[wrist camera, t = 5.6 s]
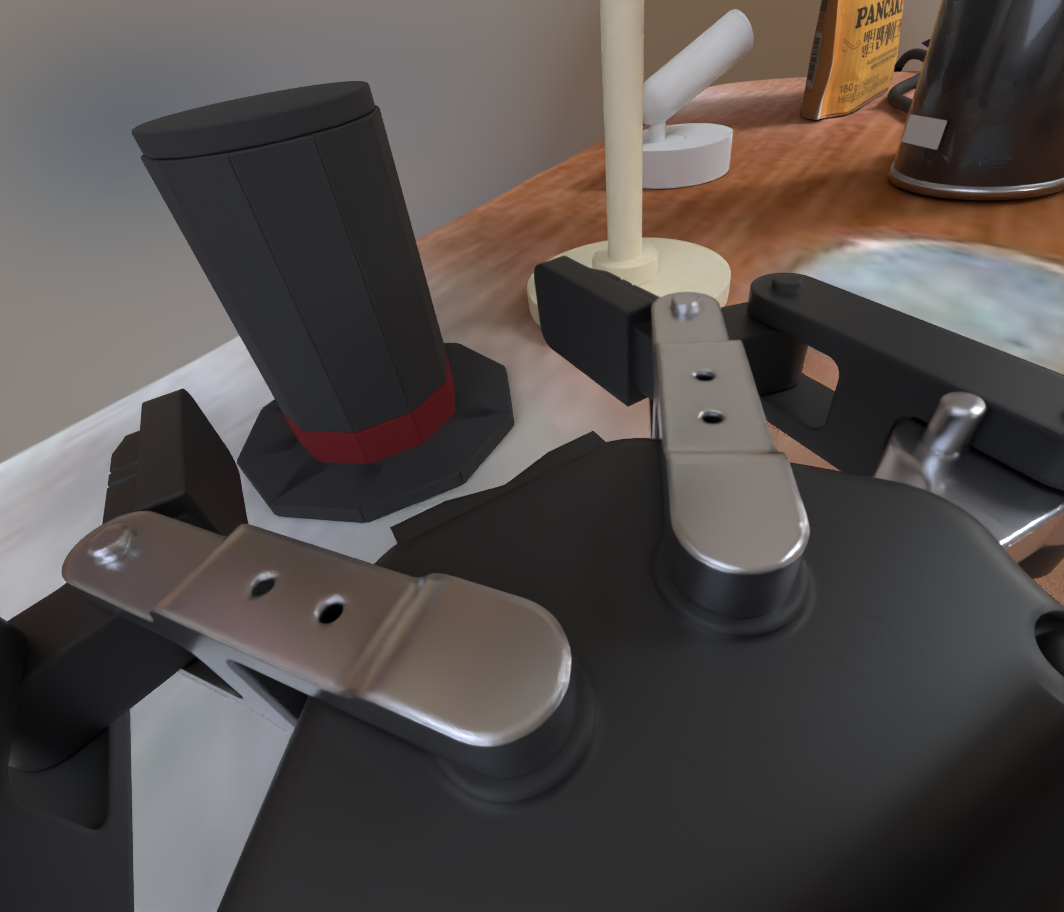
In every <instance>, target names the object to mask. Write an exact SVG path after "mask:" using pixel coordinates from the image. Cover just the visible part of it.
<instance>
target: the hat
mask: <svg viewBox="0 0 1064 912" xmlns="http://www.w3.org/2000/svg"><path fill="white" fill-rule="evenodd" d="M132 135H133V136H134V138H135V140H136V142H137V144H138V145H139V147H140V149H141V151H142V152H143V154H144V155H142V156H141V159H142V161H143V163H144V165H145V167H146V168H147V170H148V172H149V174H150V176H151V177H152V179H153V181H154V183H155V185H156V186H157V188H158V190H159V192H160V194H161V195H162V197H163V199H164V201H165V203H166V204H167V206H168V208H169V210H170V212H171V213H172V215H173V217H174V219H175V220H176V222H177V224H178V226H179V228H180V229H181V231H182V233H183V235H184V236H185V238H186V240H187V242H188V244H189V245H190V247H191V249H192V251H193V253H194V255H195V256H196V258H197V260H198V262H199V264H200V265H201V267H202V269H203V271H204V272H205V274H206V276H207V278H208V280H209V281H210V283H211V285H212V287H213V289H214V290H215V292H216V294H217V296H218V298H219V299H220V301H221V303H222V305H223V306H224V308H225V310H226V312H227V314H228V315H229V317H230V319H231V321H232V323H233V324H234V326H235V328H236V330H237V332H238V333H239V335H240V337H241V339H242V341H243V342H244V344H245V346H246V348H247V350H248V351H249V353H250V355H251V357H252V359H253V360H254V362H255V364H256V366H257V367H258V369H259V371H260V373H261V375H262V376H263V378H264V380H265V382H266V384H267V385H268V387H269V389H270V391H271V393H272V394H273V396H274V398H275V400H273V401H272V402H270V403H269V404H267V405H266V406H265V407H263V409H262V410H261V411H260V414H259V416H258V418H257V420H256V422H255V424H254V426H253V428H252V430H251V432H250V434H249V436H248V439H247V441H246V443H245V445H244V447H243V449H242V451H241V453H240V455H239V457H238V459H237V464H238V465H239V467H240V468H241V470H242V471H243V473H244V474H245V475H246V477H247V478H248V479H249V481H250V482H251V483H252V485H253V486H254V487H255V489H256V490H257V491H258V493H259V494H260V495H261V497H262V498H263V499H264V501H265V502H266V503H267V505H268V506H269V507H270V509H271V510H272V511H273V513H274V514H275V515H278V516H283V517H296V518H309V519H322V520H335V521H349V522H362V523H364V522H366V521H367V522H369V521H372V520H374V519H377V518H379V517H382V516H384V515H387V514H389V513H392V512H394V511H397V510H399V509H402V508H404V507H407V506H409V505H412V504H414V503H417V502H419V501H422V500H424V499H427V498H429V497H432V496H434V495H437V494H439V493H442V492H444V491H447V490H449V489H452V488H454V487H456V486H459V485H461V484H462V483H465V482H466V480H467V479H468V478H469V477H470V476H471V475H472V474H473V472H474V471H475V470H476V469H477V468H478V467H479V465H480V464H481V463H482V462H483V461H484V460H485V458H486V457H487V456H488V455H489V454H490V453H491V452H492V450H493V449H494V448H495V447H496V446H497V445H498V443H499V442H500V441H501V440H502V439H503V438H504V436H505V435H506V434H507V433H508V432H509V431H510V430H511V428H512V427H513V426H514V418H513V411H512V404H511V397H510V390H509V383H508V376H507V371H506V368H505V367H504V366H503V365H501V364H499V363H497V362H495V361H493V360H491V359H489V358H487V357H485V356H483V355H481V354H479V353H477V352H475V351H473V350H471V349H469V348H467V347H465V346H463V345H461V344H458V343H443V339H442V336H441V332H440V328H439V325H438V321H437V317H436V314H435V310H434V306H433V303H432V299H431V295H430V292H429V288H428V284H427V281H426V277H425V273H424V270H423V266H422V262H421V259H420V255H419V251H418V248H417V244H416V240H415V237H414V233H413V230H412V226H411V222H410V218H409V215H408V211H407V207H406V204H405V200H404V197H403V193H402V189H401V185H400V182H399V178H398V175H397V171H396V167H395V163H394V160H393V156H392V152H391V149H390V145H389V141H388V138H387V134H386V130H385V127H384V123H383V119H382V116H381V112H380V109H379V107H378V106H376V105H375V104H374V101H373V97H372V93H371V90H370V87H369V84H368V83H366V82H362V81H349V82H348V81H347V82H337V83H327V84H320V85H313V86H306V87H299V88H293V89H288V90H282V91H276V92H270V93H265V94H260V95H255V96H249V97H245V98H240V99H235V100H230V101H226V102H221V103H217V104H212V105H208V106H203V107H200V108H195V109H191V110H187V111H183V112H179V113H175V114H172V115H168V116H165V117H161V118H158V119H155V120H152V121H149V122H146V123H144V124H141V125H139V126H137V127H135V128H134V129H133V130H132Z"/></svg>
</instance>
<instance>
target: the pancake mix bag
mask: <svg viewBox="0 0 1064 912" xmlns="http://www.w3.org/2000/svg"><path fill="white" fill-rule="evenodd" d="M903 6H904V0H822V2H821V7H820V12H819V18H818V22H817V27H816V31H815V36H814V41H813V46H812V53H811V57H810V63H809V69H808V76H807V81H806V86H805V92H804V98H803V102H802V107H801V111H800V115H801V116H802V117H805V118H808V119H816V120H817V119H821V118H825V117H833V116H841V115H846V114H848V113H851V112H854V111H856V110H857V109H859V108H861V107H862V106H864V105H866V104H868V103H869V102H870V101H872V100H873V99H875V98H877V97H879V96H881V95H882V94H884V93H885V92H886V91H887V90H888V88H889V85H890V82H891V79H892V76H893V72H894V68H895V63H896V59H897V53H898V45H899V36H900V28H901V22H902V13H903Z"/></svg>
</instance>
